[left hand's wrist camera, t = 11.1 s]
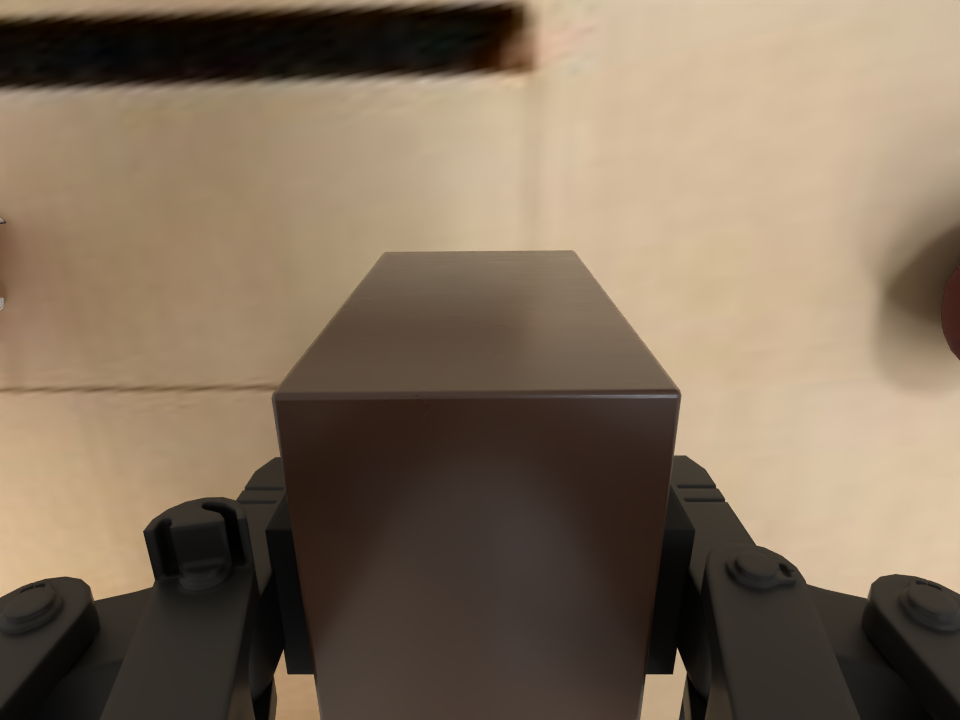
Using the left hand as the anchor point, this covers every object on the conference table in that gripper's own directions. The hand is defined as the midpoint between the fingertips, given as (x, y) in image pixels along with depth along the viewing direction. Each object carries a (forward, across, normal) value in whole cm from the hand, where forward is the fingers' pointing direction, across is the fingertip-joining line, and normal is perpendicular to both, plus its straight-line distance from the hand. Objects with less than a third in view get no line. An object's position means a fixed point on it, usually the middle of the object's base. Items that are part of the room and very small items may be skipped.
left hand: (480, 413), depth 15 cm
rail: (+1, 0, -9) cm, 9 cm away
